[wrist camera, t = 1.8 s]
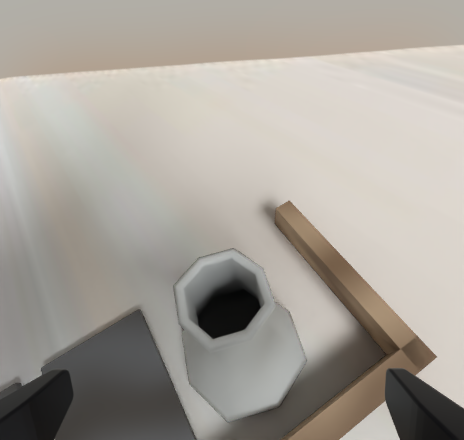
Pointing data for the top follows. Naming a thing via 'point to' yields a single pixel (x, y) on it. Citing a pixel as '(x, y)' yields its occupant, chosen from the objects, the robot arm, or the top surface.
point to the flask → (236, 336)
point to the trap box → (162, 390)
